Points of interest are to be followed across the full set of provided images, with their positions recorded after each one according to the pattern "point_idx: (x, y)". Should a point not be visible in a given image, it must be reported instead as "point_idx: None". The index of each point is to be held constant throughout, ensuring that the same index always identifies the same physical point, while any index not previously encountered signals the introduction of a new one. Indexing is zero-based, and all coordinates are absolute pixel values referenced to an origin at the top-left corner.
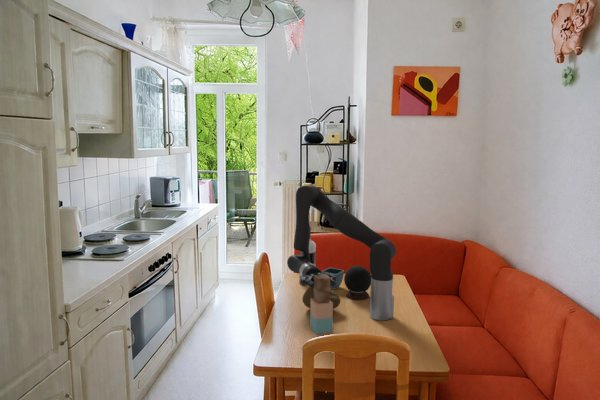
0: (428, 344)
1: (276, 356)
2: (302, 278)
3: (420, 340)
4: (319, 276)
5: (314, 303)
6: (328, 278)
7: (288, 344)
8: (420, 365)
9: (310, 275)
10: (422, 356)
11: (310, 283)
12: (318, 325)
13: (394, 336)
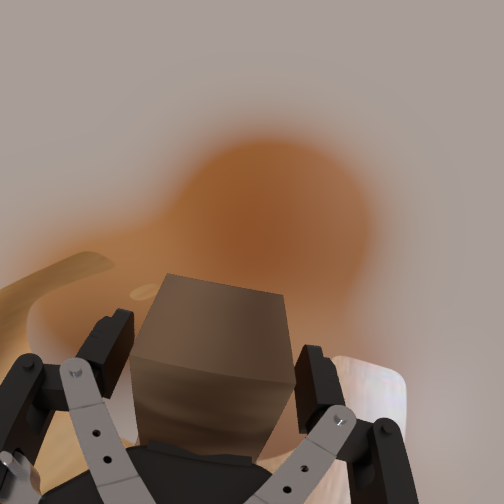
0: (17, 286)
1: (374, 392)
2: (398, 462)
3: (8, 300)
4: (247, 329)
5: None
6: (184, 281)
7: None
8: (102, 266)
9: (301, 501)
10: (70, 275)
11: (328, 365)
12: None
13: (24, 338)
